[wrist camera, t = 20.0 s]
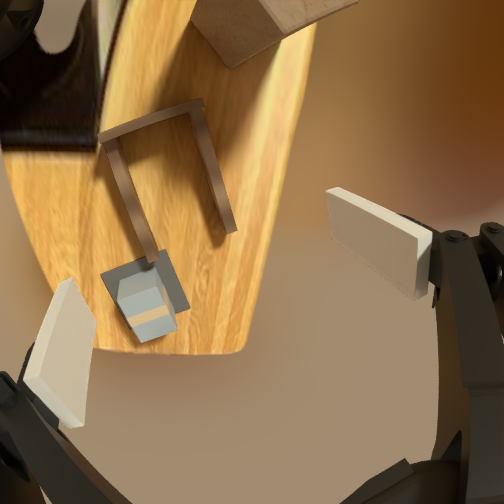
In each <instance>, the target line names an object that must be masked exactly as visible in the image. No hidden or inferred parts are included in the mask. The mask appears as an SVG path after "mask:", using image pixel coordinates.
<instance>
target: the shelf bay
mask: <svg viewBox="0 0 504 504" xmlns="http://www.w3.org/2000/svg"><path fill="white" fill-rule="evenodd" d="M203 107H204V103H203V100H202V98H199V99H195V100H192V101H188V102H185V103H182V104H179V105H175V106H172V107H169V108H166V109H163V110H160V111H157V112H154V113H151V114H148V115H146V116H143V117H140V118H137V119H135V120H132V121H129V122H127V123H124V124H121V125H119V126H116V127H114V128H111V129H109V130H107V131H104V132H102V133H99V134H97V136H98V139H99V142H100V144H101V143H103V145H104V148H105V151H106V154H107V157H108V160H109V163H110V166H111V168H112V171H113V174H114V177H115V180H116V182H117V185H118V188H119V190H120V193H121V196H122V198H123V201H124V204H125V206H126V209H127V211H128V214H129V217H130V219H131V222H132V224H133V227H134V229H135V231H136V234H137V236H138V239H139V241H140V243H141V246H142V248H143V251H144V253H145V255H146V258H147V260H148V262H149V263H151V262H153V261H156V260H159V252H158V247H157V244H156V242H155V239H154V237H153V234H152V232H151V229H150V227H149V224H148V221H147V219H146V216H145V214H144V211H143V208H142V206H141V203H140V200H139V198H138V195H137V192H136V189H135V187H134V184H133V181H132V178H131V175H130V173H129V170H128V167H127V164H126V161H125V158H124V155H123V152H122V149H121V146H120V143H119V140H118V137H119V136H121V135H124V134H126V133H129V132H132V131H134V130H137V129H140V128H142V127H145V126H148V125H151V124H154V123H156V122H159V121H162V120H165V119H168V118H171V117H174V116H177V115H181V114H184V113H188V116H189V120H190V123H191V126H192V130H193V133H194V137H195V140H196V143H197V147H198V150H199V153H200V157H201V160H202V163H203V167H204V170H205V173H206V177H207V180H208V183H209V187H210V190H211V193H212V196H213V200H214V203H215V206H216V209H217V213H218V216H219V219H220V222H221V225H222V227H223V228H224V230H225V231H226V233H227V234H229V233H232V232H235V231H238V230H237V227H236V223H235V220H234V217H233V213H232V210H231V206H230V203H229V199H228V196H227V192H226V189H225V186H224V182H223V179H222V175H221V172H220V168H219V165H218V161H217V158H216V154H215V151H214V147H213V144H212V140H211V137H210V133H209V130H208V126H207V123H206V119H205V116H204V112H203V109H202V108H203Z"/></svg>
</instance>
